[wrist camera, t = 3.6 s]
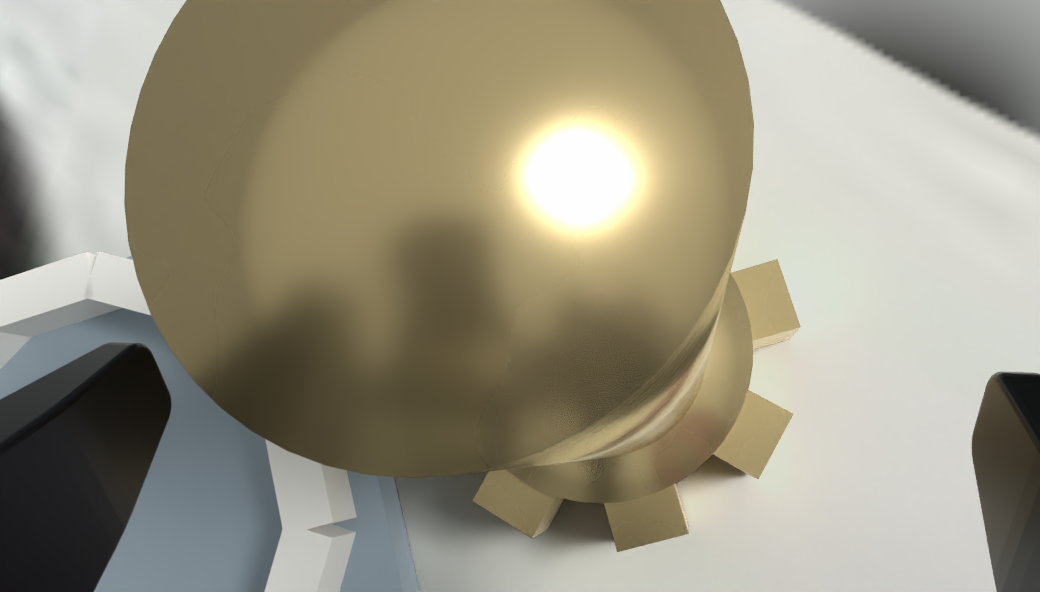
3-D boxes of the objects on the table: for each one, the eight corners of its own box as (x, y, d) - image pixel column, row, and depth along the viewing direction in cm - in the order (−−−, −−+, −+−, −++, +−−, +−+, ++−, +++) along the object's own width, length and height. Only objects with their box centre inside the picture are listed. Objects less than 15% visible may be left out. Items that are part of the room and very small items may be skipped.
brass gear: (837, 485, 17) (1306, 602, 4) (485, 576, 18) (-21, 900, 5) (723, 147, 18) (809, -527, 6) (404, 248, 19) (-134, -138, 7)
